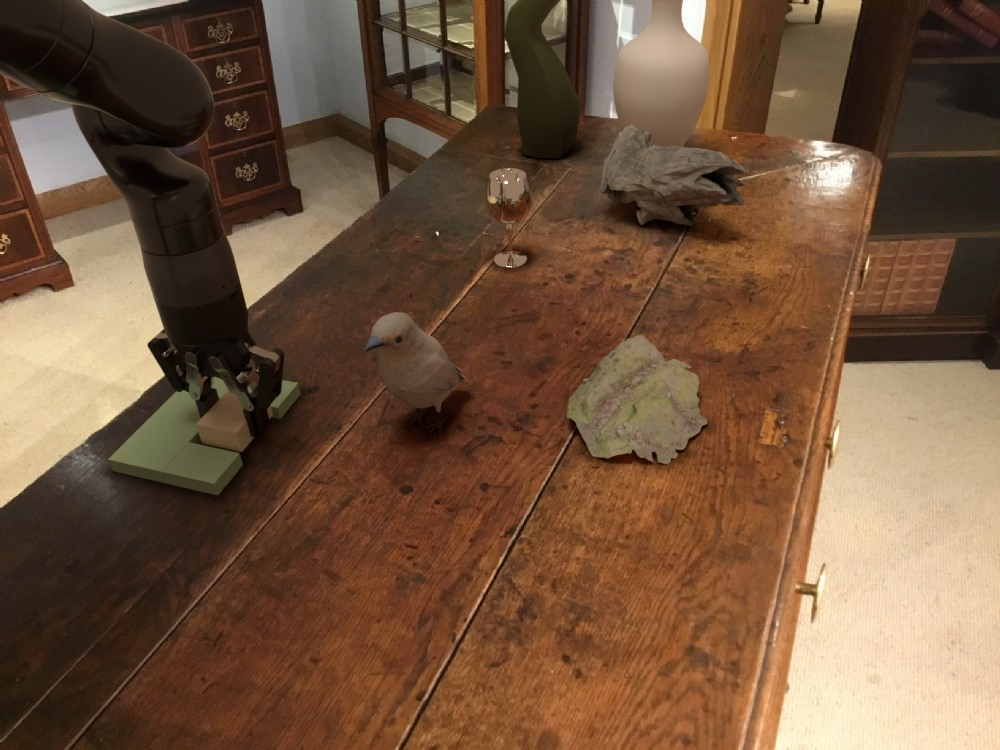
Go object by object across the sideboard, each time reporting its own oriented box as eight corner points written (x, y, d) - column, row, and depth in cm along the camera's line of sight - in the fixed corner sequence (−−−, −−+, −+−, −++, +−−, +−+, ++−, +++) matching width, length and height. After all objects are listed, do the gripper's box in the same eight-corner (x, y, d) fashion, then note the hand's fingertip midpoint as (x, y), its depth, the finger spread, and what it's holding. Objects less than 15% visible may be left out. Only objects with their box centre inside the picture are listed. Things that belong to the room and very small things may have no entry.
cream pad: (242, 452, 83) (236, 432, 82) (201, 444, 85) (195, 424, 83) (273, 415, 88) (268, 395, 86) (234, 407, 89) (229, 387, 88)
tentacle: (570, 164, 139) (573, -36, 121) (499, 156, 142) (492, -40, 124) (585, 144, 145) (590, -49, 127) (518, 136, 149) (513, -52, 131)
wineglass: (517, 274, 111) (514, 188, 104) (480, 263, 114) (476, 179, 106) (539, 255, 115) (539, 171, 108) (504, 245, 118) (501, 163, 110)
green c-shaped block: (218, 495, 80) (214, 483, 79) (112, 471, 83) (107, 459, 82) (301, 394, 92) (298, 382, 91) (206, 376, 95) (202, 365, 94)
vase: (597, 152, 142) (604, -30, 125) (678, 141, 145) (695, -38, 128) (628, 187, 131) (640, -8, 114) (714, 175, 133) (739, -17, 117)
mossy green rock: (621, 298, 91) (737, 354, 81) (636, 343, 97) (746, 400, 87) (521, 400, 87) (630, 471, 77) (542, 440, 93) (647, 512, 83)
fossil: (724, 278, 119) (788, 187, 111) (618, 244, 112) (679, 143, 104) (674, 206, 134) (727, 120, 126) (578, 171, 127) (628, 78, 119)
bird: (363, 453, 84) (341, 327, 75) (446, 383, 93) (435, 262, 84) (401, 472, 82) (383, 344, 73) (483, 398, 91) (475, 275, 82)
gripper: (101, 292, 75) (155, 438, 85) (242, 315, 71) (281, 465, 81) (154, 252, 81) (198, 393, 91) (287, 271, 77) (318, 417, 87)
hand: (237, 426), depth 86 cm, fingers closed on cream pad, 4 cm apart
